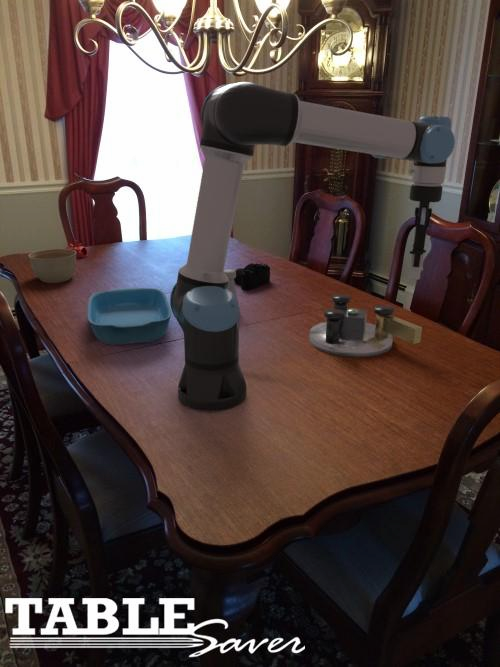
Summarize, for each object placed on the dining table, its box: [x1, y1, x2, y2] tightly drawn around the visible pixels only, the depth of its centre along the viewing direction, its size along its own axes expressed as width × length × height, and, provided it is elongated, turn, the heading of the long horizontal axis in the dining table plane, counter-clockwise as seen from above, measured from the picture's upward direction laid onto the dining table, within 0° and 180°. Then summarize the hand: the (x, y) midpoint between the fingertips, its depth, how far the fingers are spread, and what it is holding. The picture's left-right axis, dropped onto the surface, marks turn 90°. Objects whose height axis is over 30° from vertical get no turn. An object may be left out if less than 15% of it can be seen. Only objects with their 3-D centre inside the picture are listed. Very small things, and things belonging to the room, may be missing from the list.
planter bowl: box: [28, 248, 77, 284], centre depth 198 cm, size 16×16×11 cm
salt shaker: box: [224, 268, 238, 298], centre depth 170 cm, size 6×6×13 cm
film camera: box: [234, 263, 271, 291], centre depth 196 cm, size 15×10×9 cm, turn 141°
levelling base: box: [309, 293, 394, 358], centre depth 148 cm, size 22×22×10 cm
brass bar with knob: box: [373, 304, 423, 345], centre depth 142 cm, size 15×5×8 cm, turn 32°
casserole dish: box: [87, 287, 172, 346], centre depth 158 cm, size 37×22×7 cm, turn 14°
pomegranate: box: [64, 239, 89, 260], centre depth 227 cm, size 10×10×9 cm
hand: (414, 278), depth 143 cm, fingers closed
